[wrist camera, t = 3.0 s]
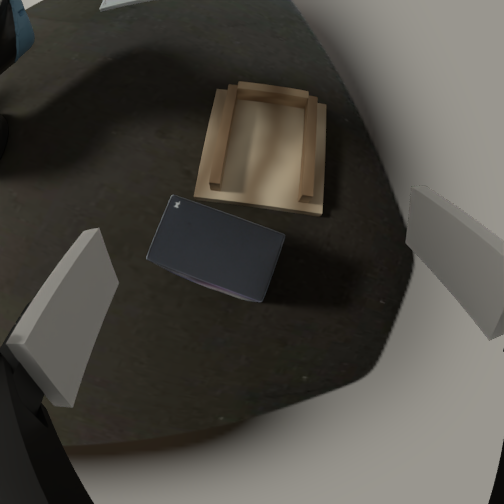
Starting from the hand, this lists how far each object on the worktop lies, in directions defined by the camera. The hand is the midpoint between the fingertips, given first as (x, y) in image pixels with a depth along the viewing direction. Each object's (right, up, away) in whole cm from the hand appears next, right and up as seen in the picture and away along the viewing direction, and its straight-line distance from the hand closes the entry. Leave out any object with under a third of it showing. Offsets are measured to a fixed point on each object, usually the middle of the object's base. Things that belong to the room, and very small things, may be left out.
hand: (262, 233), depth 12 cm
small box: (-4, -2, +24) cm, 24 cm away
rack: (+1, +12, +26) cm, 29 cm away
